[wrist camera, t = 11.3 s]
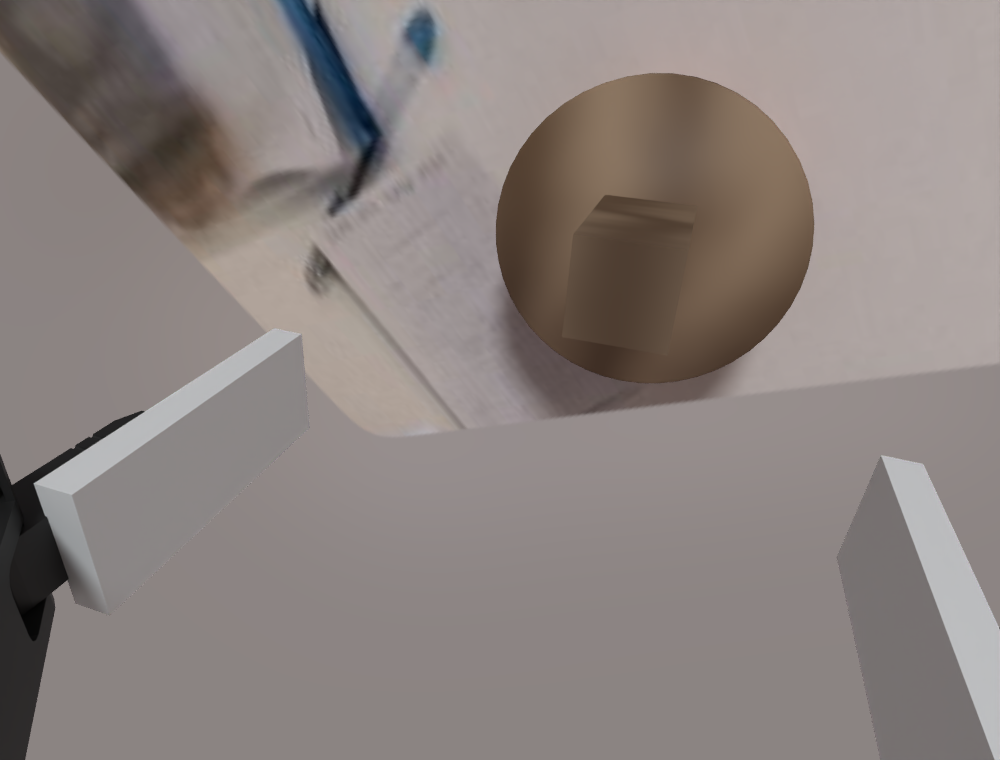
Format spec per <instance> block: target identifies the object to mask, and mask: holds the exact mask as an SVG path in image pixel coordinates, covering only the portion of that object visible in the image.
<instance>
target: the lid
mask: <svg viewBox="0 0 1000 760" xmlns="http://www.w3.org/2000/svg"><path fill="white" fill-rule="evenodd" d="M813 234H814V216H813V203H812V198H811V194H810V189H809V185H808V181H807V178H806V176H805V173H804V171H803V168H802V166H801V163H800V160H799V159H798V157H797V155H796V153H795V152H794V150H793V148H792V147H791V145H790V143H789V141H788V140H787V138H786V137H785V136H784V134H783V133H782V132H781V131H780V129H779V128H778V127H777V126H776V124H775V123H774V122H773V121H772V120H771V119H770V118H769V117H768V116H767V115H766V114H765V113H764V112H763V111H761V110H760V109H759V108H758V107H757V106H756V105H754V104H753V103H751V102H750V101H748V100H747V99H745V98H744V97H742V96H741V95H739V94H738V93H736V92H734V91H732V90H730V89H728V88H726V87H723V86H721V85H719V84H717V83H714V82H711V81H707V80H704V79H701V78H697V77H693V76H686V75H679V74H673V73H649V74H642V75H635V76H627V77H624V78H620V79H617V80H613V81H610V82H606V83H603V84H601V85H599V86H596V87H594V88H592V89H589V90H587V91H585V92H583V93H581V94H579V95H578V96H576V97H574V98H573V99H571V100H569V101H568V102H566V103H564V104H563V105H562V106H561V107H559V108H558V109H557V110H556V111H554V112H553V113H552V114H551V115H549V116H548V117H547V118H546V119H545V120H544V121H543V122H542V123H541V124H540V125H539V126H538V127H537V128H536V130H535V131H534V132H533V133H532V134H531V135H530V137H529V138H528V139H527V141H526V142H525V144H524V145H523V146H522V148H521V149H520V151H519V152H518V154H517V156H516V158H515V160H514V162H513V163H512V165H511V167H510V169H509V172H508V175H507V177H506V180H505V182H504V185H503V188H502V192H501V196H500V200H499V204H498V211H497V220H496V245H497V253H498V260H499V265H500V268H501V272H502V276H503V280H504V282H505V285H506V287H507V289H508V292H509V294H510V297H511V299H512V300H513V302H514V304H515V306H516V308H517V309H518V311H519V313H520V314H521V316H522V317H523V318H524V320H525V321H526V322H527V324H528V325H529V327H530V328H531V329H532V330H533V331H534V332H535V333H536V334H537V335H538V336H539V337H540V339H541V340H543V341H544V342H545V343H546V344H547V345H548V346H550V347H551V348H552V349H553V350H554V351H555V352H557V353H558V354H560V355H561V356H563V357H564V358H566V359H567V360H569V361H570V362H572V363H574V364H576V365H578V366H580V367H582V368H584V369H586V370H589V371H591V372H594V373H597V374H599V375H602V376H605V377H609V378H613V379H617V380H622V381H629V382H637V383H664V382H674V381H680V380H685V379H689V378H694V377H698V376H700V375H703V374H706V373H709V372H712V371H715V370H717V369H719V368H721V367H723V366H725V365H727V364H729V363H731V362H733V361H735V360H736V359H738V358H739V357H741V356H742V355H744V354H745V353H747V352H748V351H750V350H751V349H752V348H753V347H755V346H756V345H757V344H758V343H759V342H761V341H762V340H763V339H764V338H765V337H766V336H767V335H768V334H769V333H770V332H771V331H772V330H773V329H774V328H775V326H776V325H777V324H778V323H779V322H780V320H781V319H782V318H783V316H784V315H785V313H786V312H787V311H788V309H789V308H790V307H791V305H792V303H793V301H794V299H795V297H796V295H797V293H798V292H799V290H800V288H801V285H802V283H803V280H804V277H805V274H806V272H807V269H808V265H809V261H810V256H811V252H812V247H813Z"/></svg>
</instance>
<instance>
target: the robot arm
mask: <svg viewBox="0 0 1000 760" xmlns="http://www.w3.org/2000/svg"><path fill="white" fill-rule="evenodd" d="M309 428H310V426H309V415H308V403H307V391H306V380H305V368H304V356H303V345H302V334H300V333H295V332H290V331H285V330H280V329H276V328H274V329H272V330H271V331H269V332H268V333H266V334H265V335H263V336H261V337H260V338H259V339H257V340H255V341H254V342H252V343H251V344H249V345H248V346H246V347H244V348H243V349H241V350H240V351H238V352H237V353H235V354H234V355H232V356H231V357H229V358H227V359H226V360H224V361H223V362H221V363H220V364H218V365H217V366H215V367H213V368H212V369H210V370H209V371H207V372H206V373H204V374H203V375H201V376H200V377H198V378H196V379H195V380H193V381H192V382H190V383H189V384H187V385H186V386H184V387H182V388H181V389H179V390H178V391H176V392H175V393H173V394H172V395H170V396H169V397H167V398H165V399H164V400H162V401H161V402H160V403H158V404H156V405H155V406H153V407H151V408H150V409H148V410H147V411H140V412H137V413H134V414H132V415H129V416H127V417H123V418H121V419H118V420H115V421H113V422H112V423H110V424H109V425H107V426H105V427H104V428H102V429H101V430H99V431H97V432H96V433H94V434H93V437H92V438H90V437H88V438H86V439H85V440H83V441H82V442H80V443H79V444H77V445H76V446H75V448H74V449H72V448H71V449H69V450H67V451H66V452H64V453H63V454H61V455H59V456H58V457H56V458H55V459H53V460H52V461H50V462H49V463H47V464H45V465H43V466H42V467H41V468H39V469H37V470H35V471H34V472H33V473H31V474H29V475H27V476H26V477H24V478H23V479H21V480H20V481H18V482H16V483H15V484H13V485H11V482H10V479H9V477H8V474H7V472H6V469H5V466H4V463H3V461H2V458H1V455H0V760H25V757H26V752H27V747H28V742H29V737H30V732H31V726H32V722H33V717H34V712H35V707H36V702H37V697H38V692H39V687H40V682H41V677H42V672H43V667H44V662H45V657H46V652H47V647H48V642H49V637H50V631H51V627H52V622H53V617H54V611H55V603H54V598H53V595H52V592H53V591H54V590H56V589H57V588H58V587H59V586H60V585H62V584H63V583H64V582H65V581H67V580H68V582H69V586H70V589H71V591H72V594H73V597H74V600H75V603H76V604H79V605H82V606H84V607H88V608H90V609H93V610H96V611H99V612H102V613H105V614H108V615H111V614H112V613H113V612H114V611H115V610H116V609H117V608H118V607H119V606H121V605H122V604H123V603H124V602H125V601H126V600H127V599H128V598H129V597H130V596H131V595H132V594H133V593H134V592H135V591H136V590H138V589H139V588H140V587H141V586H142V585H143V584H144V583H145V582H146V581H147V580H148V579H149V578H150V577H151V576H152V575H154V574H155V573H156V572H157V571H158V570H159V568H161V567H162V566H163V565H164V564H165V563H166V562H167V561H168V560H169V559H171V558H172V557H173V556H174V555H175V554H176V553H177V552H178V551H179V550H180V549H181V548H182V547H183V546H184V545H185V544H186V543H187V542H189V541H190V540H191V539H192V538H193V537H194V536H195V535H196V534H197V533H198V532H199V531H200V530H201V529H202V528H204V526H206V525H207V524H208V523H209V522H210V521H211V520H212V519H213V518H214V517H215V516H216V515H217V514H218V513H219V512H221V511H222V510H223V509H224V508H225V507H226V506H227V505H228V504H229V503H230V502H231V501H232V500H233V499H234V498H235V497H236V496H237V495H239V494H240V493H241V492H242V491H243V490H244V489H245V488H246V487H247V486H248V485H249V484H250V483H251V482H252V481H253V480H255V479H256V478H257V477H258V476H259V475H260V474H261V473H262V472H263V471H264V470H265V469H266V468H267V467H268V466H269V465H271V464H272V463H273V462H274V461H275V460H276V459H277V458H278V457H279V456H280V455H281V454H282V453H283V452H284V451H285V450H286V449H288V448H289V447H290V446H291V445H292V443H294V442H295V441H296V440H297V439H298V438H299V437H300V436H301V435H302V434H304V432H306V431H307V430H308V429H309ZM837 560H838V565H839V569H840V574H841V579H842V583H843V588H844V593H845V597H846V602H847V606H848V611H849V616H850V620H851V625H852V629H853V634H854V639H855V644H856V648H857V653H858V658H859V662H860V667H861V672H862V676H863V681H864V686H865V690H866V695H867V700H868V704H869V709H870V714H871V718H872V723H873V727H874V732H875V737H876V741H877V746H878V751H879V756H880V760H1000V628H999V627H998V625H997V622H996V620H995V619H994V616H993V614H992V612H991V609H990V607H989V605H988V603H987V601H986V599H985V597H984V594H983V592H982V590H981V588H980V586H979V584H978V581H977V579H976V577H975V575H974V573H973V571H972V568H971V566H970V564H969V562H968V560H967V558H966V556H965V554H964V551H963V549H962V547H961V545H960V543H959V541H958V538H957V536H956V534H955V532H954V530H953V528H952V525H951V523H950V521H949V519H948V517H947V515H946V512H945V510H944V508H943V506H942V504H941V502H940V500H939V497H938V495H937V493H936V491H935V489H934V486H933V484H932V482H931V480H930V478H929V476H928V474H927V471H926V469H925V467H924V465H923V464H920V463H916V462H911V461H906V460H901V459H897V458H892V457H887V456H882V455H881V457H880V459H879V461H878V463H877V466H876V468H875V470H874V473H873V475H872V478H871V480H870V482H869V484H868V486H867V489H866V491H865V493H864V496H863V498H862V500H861V503H860V505H859V507H858V510H857V512H856V514H855V516H854V519H853V521H852V523H851V526H850V528H849V530H848V532H847V535H846V537H845V539H844V542H843V544H842V546H841V549H840V551H839V553H838V556H837Z"/></svg>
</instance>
